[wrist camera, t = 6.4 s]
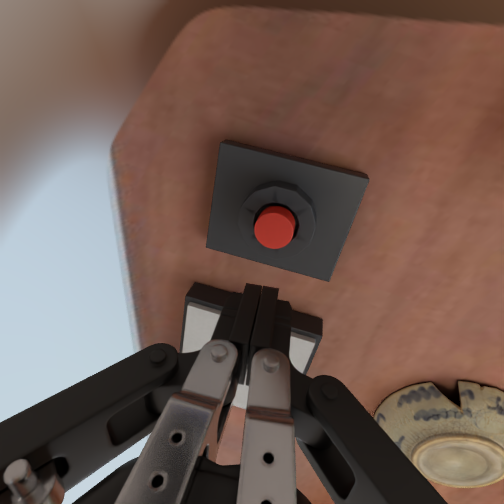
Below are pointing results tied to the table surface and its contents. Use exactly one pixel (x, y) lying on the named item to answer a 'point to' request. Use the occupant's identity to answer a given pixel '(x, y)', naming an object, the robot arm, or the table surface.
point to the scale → (207, 314)
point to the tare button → (274, 227)
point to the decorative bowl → (448, 432)
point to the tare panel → (285, 195)
